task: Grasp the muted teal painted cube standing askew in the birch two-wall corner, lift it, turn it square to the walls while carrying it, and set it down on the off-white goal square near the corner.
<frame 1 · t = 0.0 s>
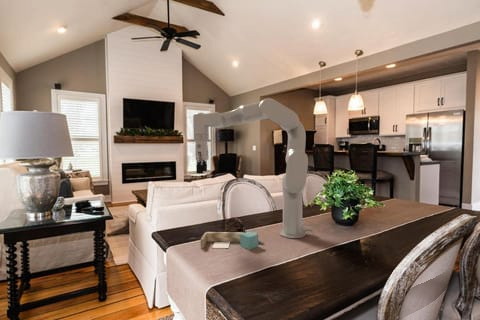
hand: (201, 172, 137), 31 cm above the table, tool pointing down, fingers open, 9 cm apart
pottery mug: (235, 231, 143), on the table
arena: (229, 244, 123), on the table
cube: (249, 246, 121), on the table
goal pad: (221, 245, 123), on the table
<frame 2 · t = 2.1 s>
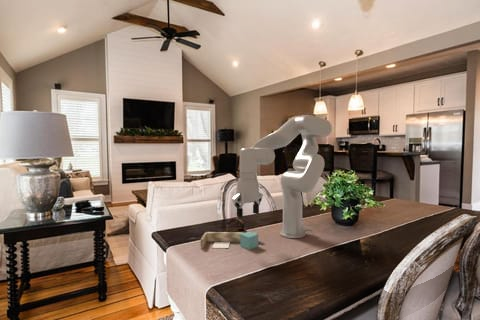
hand: (248, 215, 120), 14 cm above the table, tool pointing down, fingers open, 9 cm apart
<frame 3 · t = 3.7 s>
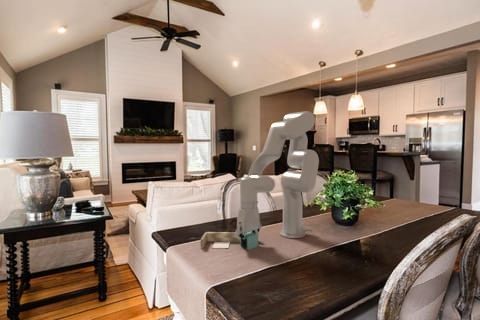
hand: (249, 245, 121), 1 cm above the table, tool pointing down, fingers closed on cube, 5 cm apart
cube: (249, 246, 121), on the table, touching gripper
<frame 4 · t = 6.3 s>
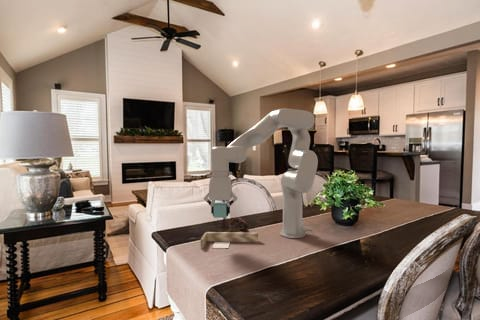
hand: (220, 214, 122), 14 cm above the table, tool pointing down, fingers closed on cube, 5 cm apart
cube: (220, 215, 122), point 13 cm above the table, touching gripper
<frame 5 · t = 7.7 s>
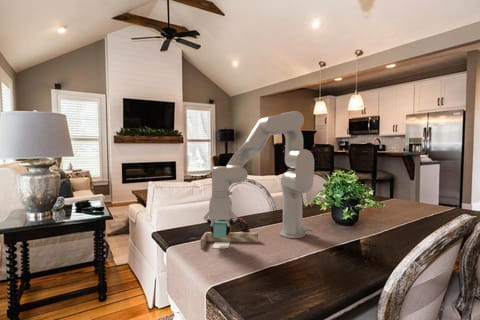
hand: (220, 234, 122), 5 cm above the table, tool pointing down, fingers closed on cube, 5 cm apart
cube: (220, 235, 122), point 5 cm above the table, touching gripper
when the fingers open (2 cm above the table, at t = 8.8 s): cube stays where it is, resting on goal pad.
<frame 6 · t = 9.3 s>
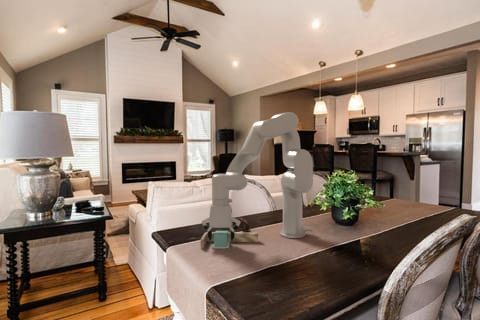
hand: (221, 239, 122), 3 cm above the table, tool pointing down, fingers open, 9 cm apart
cube: (221, 244, 123), resting on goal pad
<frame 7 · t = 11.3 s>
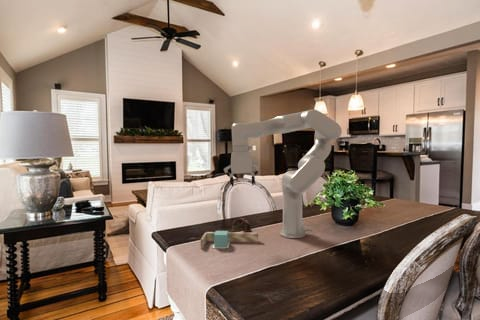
hand: (242, 185, 131), 25 cm above the table, tool pointing down, fingers open, 9 cm apart
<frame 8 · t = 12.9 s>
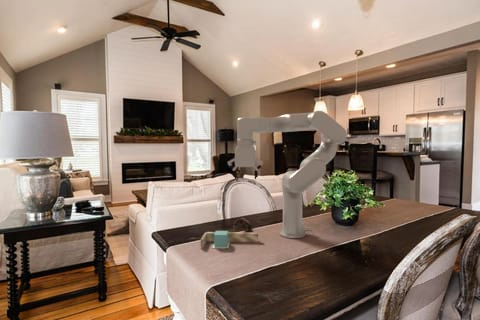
hand: (245, 178, 133), 28 cm above the table, tool pointing down, fingers open, 9 cm apart
at the end: cube 0.0 cm off-centre on the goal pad, point 0.2 cm above the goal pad's base; cube tilted 0°; the gripper is holding nothing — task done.
